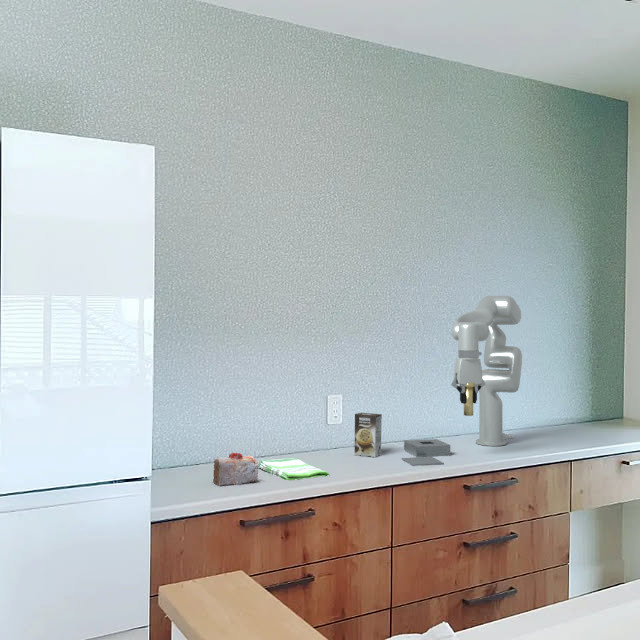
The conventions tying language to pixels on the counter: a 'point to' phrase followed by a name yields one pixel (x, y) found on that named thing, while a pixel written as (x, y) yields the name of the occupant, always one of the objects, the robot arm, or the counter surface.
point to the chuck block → (427, 447)
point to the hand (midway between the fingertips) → (468, 402)
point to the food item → (235, 470)
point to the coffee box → (368, 434)
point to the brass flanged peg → (469, 399)
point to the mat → (423, 461)
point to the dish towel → (291, 469)
